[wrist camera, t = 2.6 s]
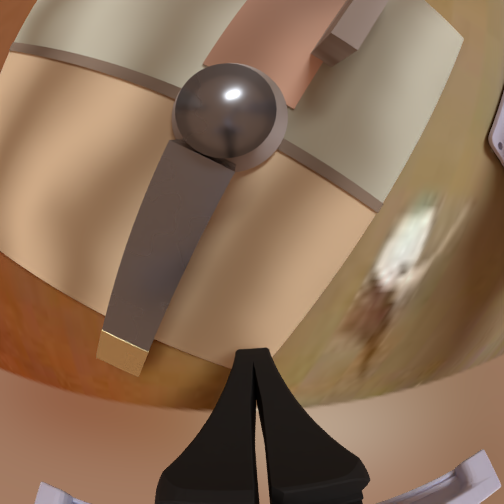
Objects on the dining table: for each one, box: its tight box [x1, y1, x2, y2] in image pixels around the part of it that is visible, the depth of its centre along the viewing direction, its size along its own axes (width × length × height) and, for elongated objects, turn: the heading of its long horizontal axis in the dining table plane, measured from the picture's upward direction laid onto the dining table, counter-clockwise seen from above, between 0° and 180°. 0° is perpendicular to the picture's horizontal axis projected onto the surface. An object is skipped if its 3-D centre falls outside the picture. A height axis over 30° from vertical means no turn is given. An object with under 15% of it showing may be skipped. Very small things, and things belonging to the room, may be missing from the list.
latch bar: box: [96, 63, 277, 377], centre depth 10 cm, size 13×3×3 cm, turn 151°
